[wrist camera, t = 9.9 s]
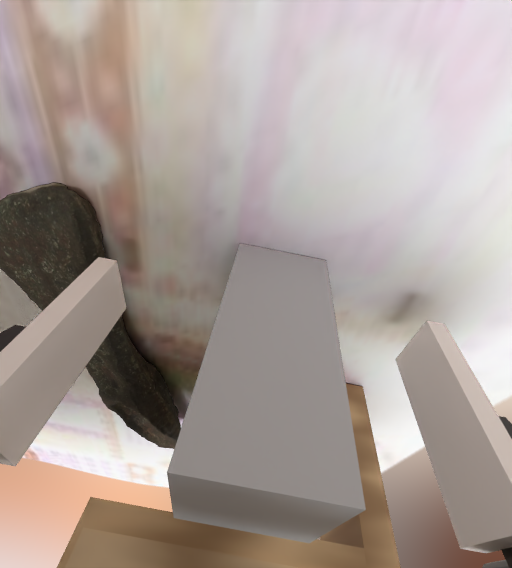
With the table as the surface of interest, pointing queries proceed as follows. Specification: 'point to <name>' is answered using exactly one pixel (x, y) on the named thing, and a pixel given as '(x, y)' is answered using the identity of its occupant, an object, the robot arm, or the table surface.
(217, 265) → the table surface
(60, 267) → the tool
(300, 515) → the gray stepped block
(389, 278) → the table surface
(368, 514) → the wall cabinet
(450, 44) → the table surface
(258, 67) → the table surface
